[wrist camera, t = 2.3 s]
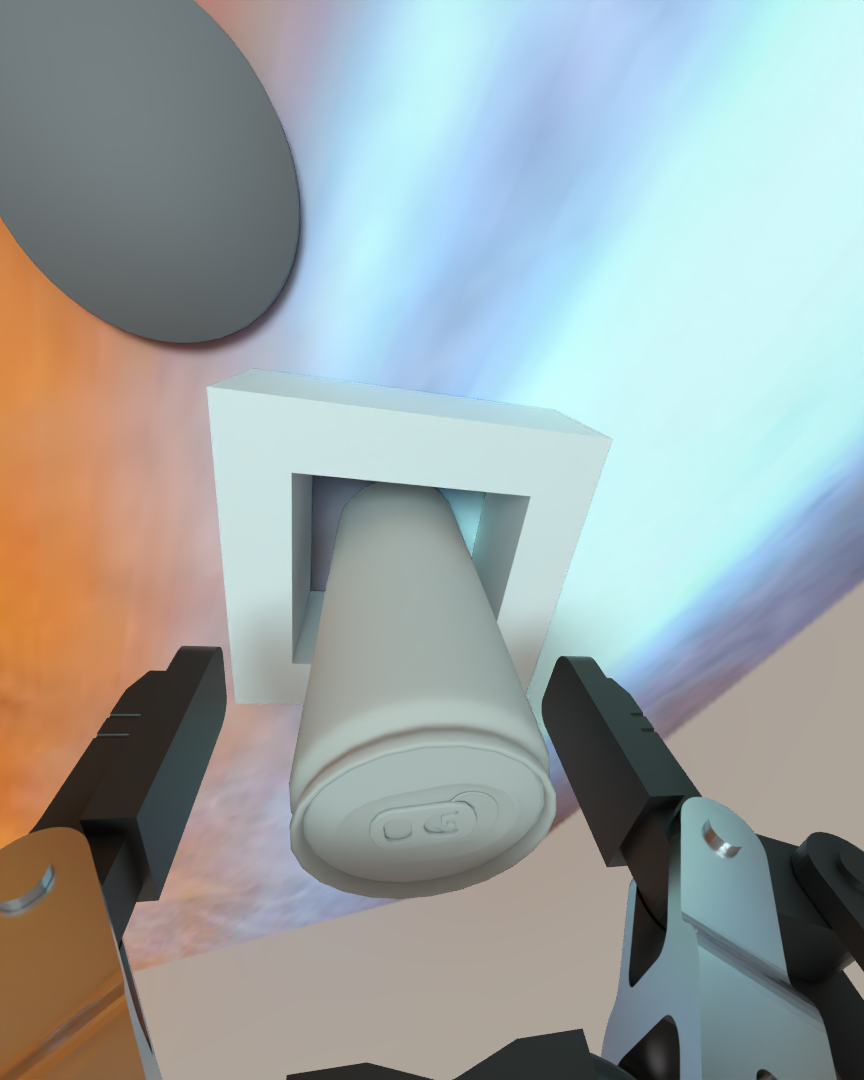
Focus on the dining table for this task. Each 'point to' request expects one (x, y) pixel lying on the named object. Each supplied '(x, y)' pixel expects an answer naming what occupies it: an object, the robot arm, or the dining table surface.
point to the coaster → (144, 165)
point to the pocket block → (398, 457)
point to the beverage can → (412, 714)
